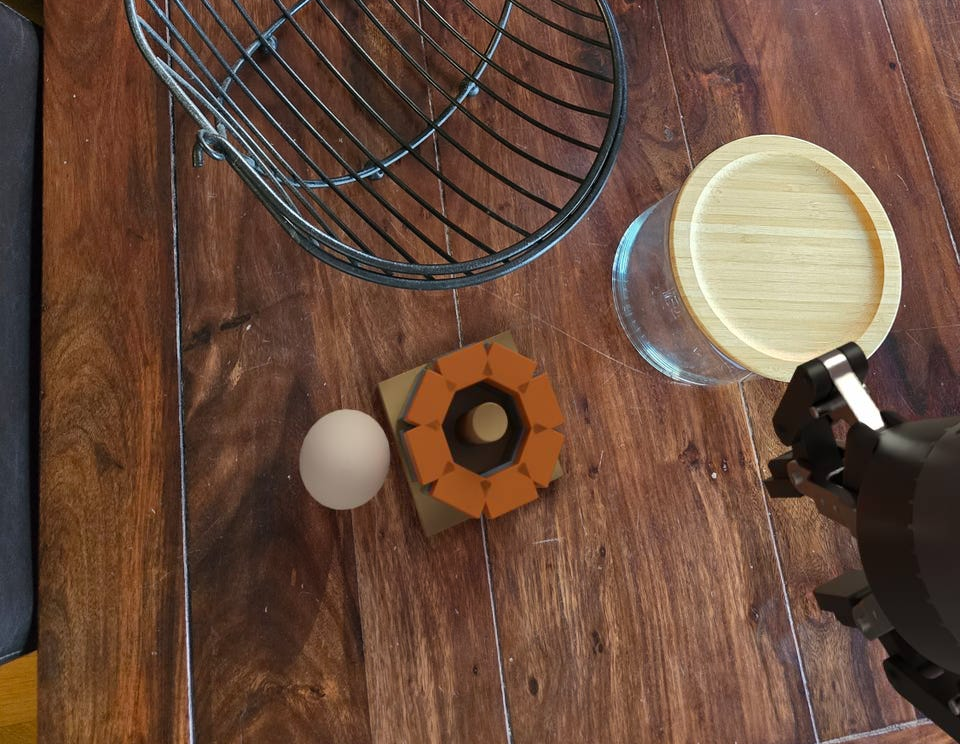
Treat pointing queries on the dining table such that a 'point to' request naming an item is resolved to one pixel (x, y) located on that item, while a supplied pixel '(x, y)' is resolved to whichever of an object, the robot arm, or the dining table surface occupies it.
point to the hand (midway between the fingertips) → (810, 533)
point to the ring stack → (458, 433)
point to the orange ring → (535, 447)
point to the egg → (344, 459)
